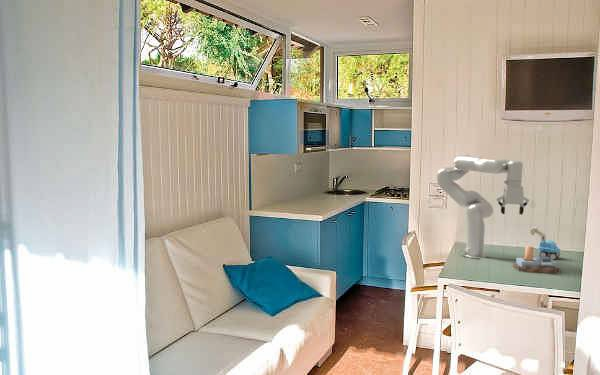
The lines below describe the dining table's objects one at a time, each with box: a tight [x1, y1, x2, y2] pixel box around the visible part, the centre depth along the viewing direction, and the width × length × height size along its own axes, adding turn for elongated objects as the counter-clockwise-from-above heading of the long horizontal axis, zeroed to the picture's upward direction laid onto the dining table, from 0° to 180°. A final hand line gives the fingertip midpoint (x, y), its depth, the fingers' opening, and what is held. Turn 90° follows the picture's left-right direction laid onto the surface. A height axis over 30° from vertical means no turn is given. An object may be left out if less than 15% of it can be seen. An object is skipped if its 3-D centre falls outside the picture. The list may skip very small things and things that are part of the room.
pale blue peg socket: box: [515, 255, 558, 271], centre depth 283 cm, size 18×14×7 cm
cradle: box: [512, 262, 562, 275], centre depth 284 cm, size 21×13×4 cm, turn 86°
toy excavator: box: [529, 226, 561, 261], centre depth 317 cm, size 9×17×17 cm, turn 51°
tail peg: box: [524, 245, 535, 261], centre depth 283 cm, size 4×4×10 cm
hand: (511, 214), depth 297 cm, fingers open, 9 cm apart
